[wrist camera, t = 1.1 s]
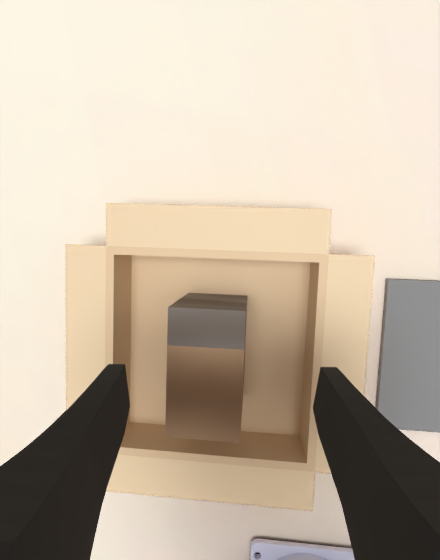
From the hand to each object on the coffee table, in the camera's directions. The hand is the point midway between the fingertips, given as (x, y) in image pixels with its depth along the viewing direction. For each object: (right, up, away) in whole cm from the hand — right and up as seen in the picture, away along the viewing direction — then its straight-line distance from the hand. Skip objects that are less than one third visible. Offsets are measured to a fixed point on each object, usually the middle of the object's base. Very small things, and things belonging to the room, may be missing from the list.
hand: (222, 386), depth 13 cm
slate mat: (+16, -1, +10) cm, 19 cm away
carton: (0, 0, +12) cm, 12 cm away
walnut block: (0, -1, +11) cm, 11 cm away
